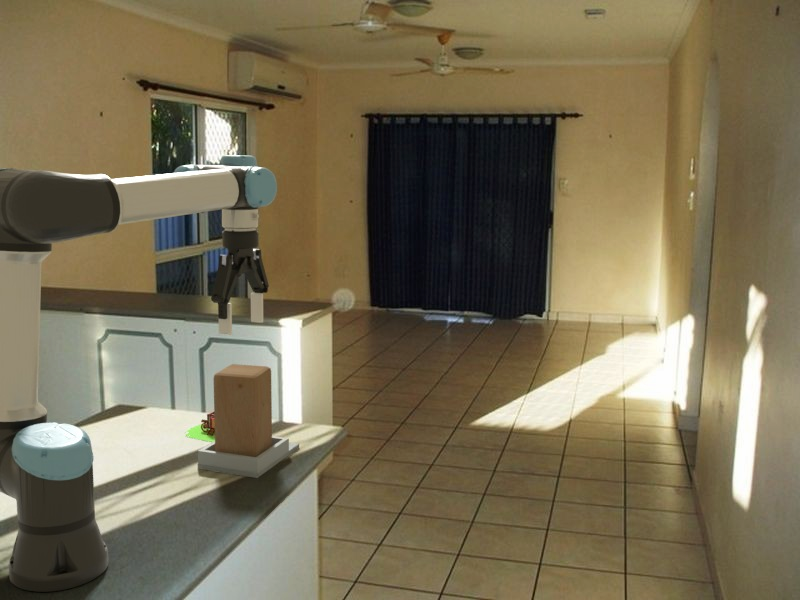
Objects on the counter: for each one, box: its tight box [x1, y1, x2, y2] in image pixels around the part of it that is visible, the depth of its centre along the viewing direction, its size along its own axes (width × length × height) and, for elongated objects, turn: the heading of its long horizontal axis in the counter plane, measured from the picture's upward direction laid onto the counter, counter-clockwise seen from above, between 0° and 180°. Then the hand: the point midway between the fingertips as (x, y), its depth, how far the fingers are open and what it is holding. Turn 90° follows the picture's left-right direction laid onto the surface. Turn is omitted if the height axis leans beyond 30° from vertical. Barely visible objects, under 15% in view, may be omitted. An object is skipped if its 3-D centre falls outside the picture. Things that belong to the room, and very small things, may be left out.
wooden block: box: [213, 363, 273, 457], centre depth 189 cm, size 10×10×20 cm
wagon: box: [184, 411, 215, 443], centre depth 211 cm, size 15×15×6 cm
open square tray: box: [197, 435, 300, 479], centre depth 193 cm, size 20×14×5 cm
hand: (241, 327), depth 186 cm, fingers open, 13 cm apart
